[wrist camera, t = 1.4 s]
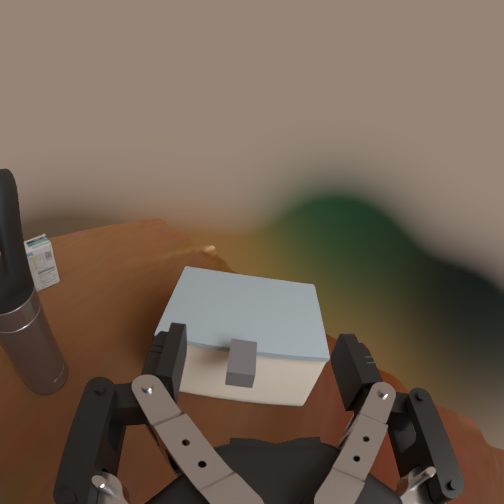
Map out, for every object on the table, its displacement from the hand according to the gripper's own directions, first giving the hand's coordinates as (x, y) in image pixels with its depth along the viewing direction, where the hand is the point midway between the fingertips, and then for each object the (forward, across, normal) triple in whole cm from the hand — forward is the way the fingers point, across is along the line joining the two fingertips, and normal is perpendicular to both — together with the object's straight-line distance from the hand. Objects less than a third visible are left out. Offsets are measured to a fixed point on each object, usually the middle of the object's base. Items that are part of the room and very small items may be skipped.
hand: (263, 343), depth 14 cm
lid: (+20, -1, +15) cm, 24 cm away
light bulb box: (+35, +49, +25) cm, 65 cm away
